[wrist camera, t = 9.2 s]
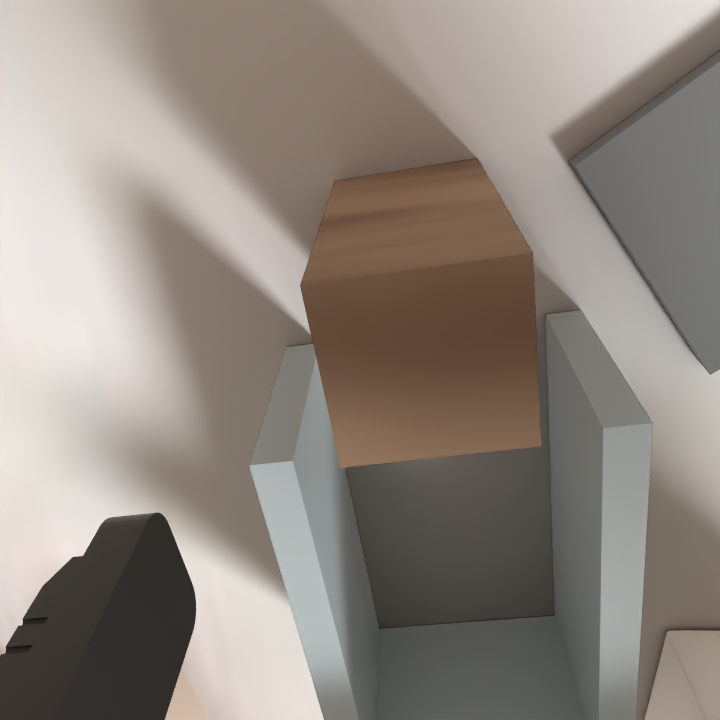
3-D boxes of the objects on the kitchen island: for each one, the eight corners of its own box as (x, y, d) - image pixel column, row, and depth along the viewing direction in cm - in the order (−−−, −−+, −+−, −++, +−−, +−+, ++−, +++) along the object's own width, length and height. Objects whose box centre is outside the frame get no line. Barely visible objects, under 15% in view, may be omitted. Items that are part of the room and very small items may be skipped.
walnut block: (487, 291, 22) (541, 446, 14) (358, 309, 23) (340, 467, 15) (477, 158, 20) (532, 252, 12) (334, 180, 21) (299, 285, 13)
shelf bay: (581, 631, 30) (716, 1068, 18) (357, 647, 31) (335, 1067, 19) (581, 309, 22) (812, 675, 10) (286, 346, 24) (170, 714, 11)
